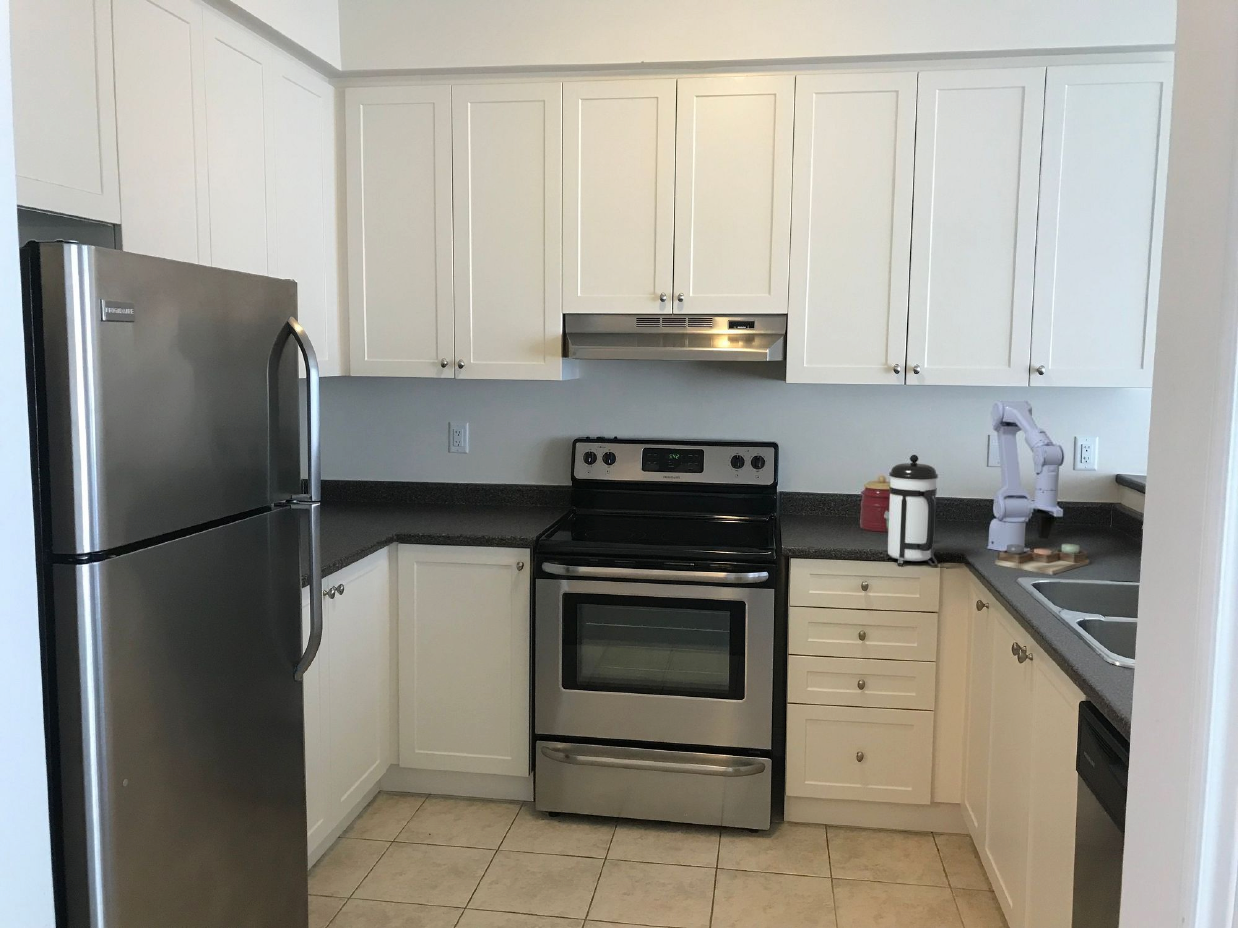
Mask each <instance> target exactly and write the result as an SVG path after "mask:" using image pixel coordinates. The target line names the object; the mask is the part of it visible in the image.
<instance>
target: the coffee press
mask: <svg viewBox="0 0 1238 928" xmlns="http://www.w3.org/2000/svg"><path fill="white" fill-rule="evenodd" d="M909 460H910V462H908V463H907V462H904V463H899V464H896V465H894V466H893V467H892V468H891V471H889V475H888V476H889V477H890V481H889V482H890V486H889V493H890V505H889V530H888V537H887V550H886V551H885V553H884V554H883V559H884V560H889V559H890V558H893V559H897V567H901V568H902V567H904V566H905V563H906V562H907V561H908V562H909V561H910V562H922V561H924V562H927V563H929V565H930V566H931V567H934V566H936V565H937V564H938V560H937V559H936V557H935V555H934V548H935V547H934V546H935V545H934V544H935V543H934V542H935V525H936V524H935V523H936V519H935V518H936V506H937V505H936V504H937V503H936V501H937V500H936V496H937V490H938V489H937V479H938V478H939V474H938V473H937V471H936V469H935V468H934V467H933V466H931V465H929V464H925V463H918V461H919V456H918V455H917V454H912V455H911V456H910V457H909ZM887 554H888V556H889V557H887V556H886V555H887ZM931 558H932V560H933V561H934V563H932V561H931V560H929V559H931Z"/></svg>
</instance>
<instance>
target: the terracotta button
mask: <svg viewBox="0 0 1238 928" xmlns="http://www.w3.org/2000/svg"><path fill="white" fill-rule="evenodd" d="M1033 550H1034V553H1039V554H1045V555H1049V554H1051V552H1052V551H1053V550H1051V549H1047V548H1034V549H1033Z"/></svg>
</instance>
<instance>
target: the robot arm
mask: <svg viewBox="0 0 1238 928" xmlns="http://www.w3.org/2000/svg"><path fill="white" fill-rule="evenodd" d="M990 415H991V416H990V417H991V425H992V430H993V431H995V432H996V433H997V436H996V437H997V444H998V454H999V462H1000V463H999V464H1000V473H1001V474H1000V475H1001V485H1002V487H1001V489H1000V490H998V491H996V493H995V494H994V495H993V507H992V509H993V515H994V516H995V518H993V519H992V520H991V522H990V524H989V527H988V529H989V530H988V546H986V547H987V548H986V549H988V550H993V551H998V552H1000V551H1004V550H1007V545H1009V544H1015V545H1022V546H1024V552H1026V551H1030V550H1031V548H1029V547H1025V540H1026V536H1025V535H1026V523H1027V522H1029V519H1031V517H1032V518H1033V520H1034V523H1035V525H1036V530H1037V536H1038V538H1039V539H1043V540H1044V539H1047V540H1048V539H1049V538H1050V534H1051V531H1052V528H1053V526H1054V524H1055V523H1056V521H1057V519H1058V518H1059V517H1060V518H1061V517H1064V516H1063V515H1064V509H1063V508H1061V507H1060V506H1058V492H1059V477H1060V467H1061V466H1062V465H1063V464H1064V462H1065V451H1064V448H1063V446H1062V445H1060V444H1057V443H1053V441H1052V440H1051V438H1050V437H1049V436H1048V434H1047V433H1046V431H1045V430H1044V428H1041V427H1040V428H1039V427H1038V426H1037V424H1036V422H1035V420H1034V418H1033V417H1032V416H1033V406H1032V405H1031V403H1030V402H1029V401H1028V400H1024V401H1023V400H1022V401H1021V400H1018V401H1017V400H1013V401H1009V400H1005V401H1003V400H996V401H995V402H994V403H993V405H992V408H991V411H990ZM1020 431H1022V432H1023V433H1024V434H1025V437H1024V441H1025V443H1026V444H1027V446H1028V447H1029V449H1030V451H1031V452H1032V461H1033V470H1034V472H1035V481H1034V482H1035V483H1034V484H1035V487H1034V500H1032V497H1031V494H1030V491H1028V490H1026V489H1025V488H1023V486H1022V484H1021V475H1020V474H1021V473H1020V466H1019V465H1020V463H1019V455H1018V446H1017V437H1016V435H1017V434H1018V432H1020ZM1034 510H1036V511H1034Z"/></svg>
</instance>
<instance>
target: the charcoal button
mask: <svg viewBox="0 0 1238 928" xmlns="http://www.w3.org/2000/svg"><path fill="white" fill-rule="evenodd" d="M1024 548H1025V545H1024V546H1022V545H1015V544H1009V545H1007V553H1010V554H1015V555H1022V554H1024Z"/></svg>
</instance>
